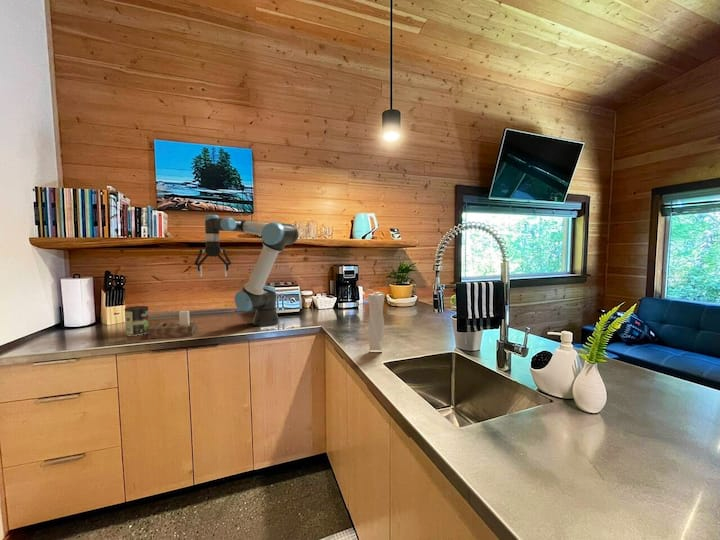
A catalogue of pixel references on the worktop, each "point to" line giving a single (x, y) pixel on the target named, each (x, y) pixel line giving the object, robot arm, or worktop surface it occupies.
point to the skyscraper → (376, 320)
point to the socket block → (172, 330)
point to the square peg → (184, 318)
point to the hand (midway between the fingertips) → (213, 276)
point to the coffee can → (136, 320)
